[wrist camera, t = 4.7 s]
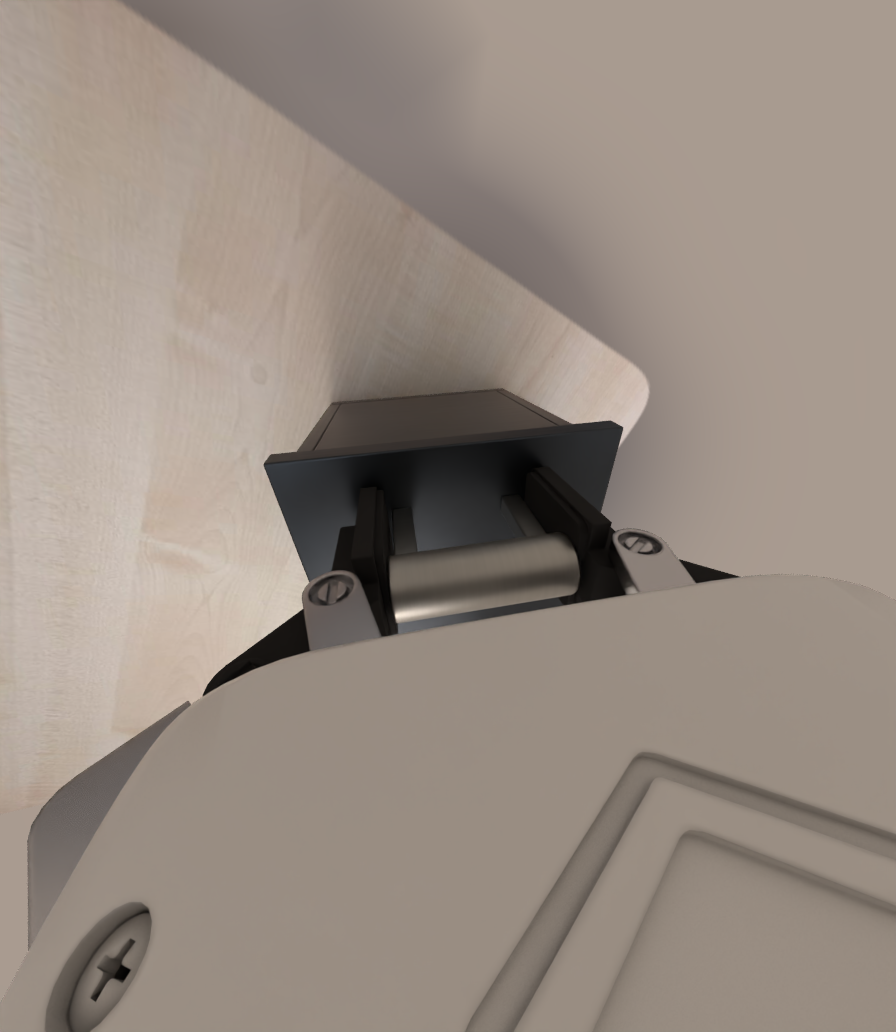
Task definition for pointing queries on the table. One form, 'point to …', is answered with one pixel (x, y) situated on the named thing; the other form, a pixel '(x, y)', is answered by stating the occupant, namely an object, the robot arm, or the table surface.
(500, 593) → the bin lid
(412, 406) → the bin
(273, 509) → the table surface
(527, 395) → the table surface
